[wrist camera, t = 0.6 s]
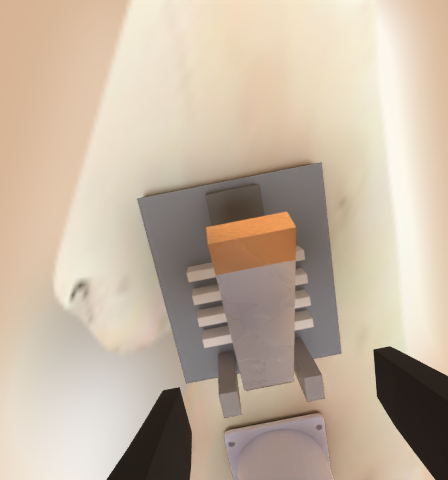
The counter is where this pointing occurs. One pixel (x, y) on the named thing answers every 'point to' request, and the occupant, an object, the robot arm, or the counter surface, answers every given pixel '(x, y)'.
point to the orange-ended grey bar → (258, 294)
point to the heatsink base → (205, 283)
